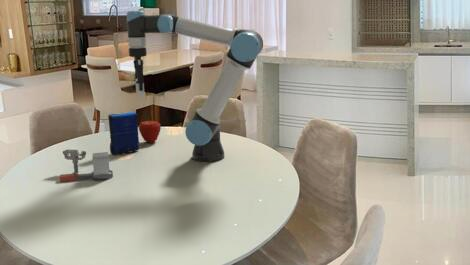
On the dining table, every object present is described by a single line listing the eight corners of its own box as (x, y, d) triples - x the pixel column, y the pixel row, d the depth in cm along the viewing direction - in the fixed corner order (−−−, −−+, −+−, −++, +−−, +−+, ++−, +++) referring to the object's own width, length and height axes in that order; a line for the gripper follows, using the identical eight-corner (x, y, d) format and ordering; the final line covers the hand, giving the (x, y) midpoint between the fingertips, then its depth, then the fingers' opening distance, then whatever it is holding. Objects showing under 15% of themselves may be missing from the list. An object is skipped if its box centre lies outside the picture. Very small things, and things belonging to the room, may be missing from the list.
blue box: (112, 156, 270) (109, 115, 265) (108, 154, 274) (105, 113, 269) (140, 151, 277) (138, 111, 272) (136, 149, 282) (133, 110, 277)
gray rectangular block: (109, 169, 243) (108, 151, 241) (109, 174, 237) (108, 156, 235) (94, 171, 241) (92, 153, 239) (94, 175, 235) (92, 157, 233)
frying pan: (112, 173, 245) (111, 155, 243) (113, 179, 236) (111, 161, 234) (61, 177, 240) (59, 159, 238) (59, 184, 231) (57, 165, 229)
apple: (137, 144, 290) (135, 122, 287) (143, 139, 300) (142, 117, 297) (157, 145, 288) (156, 122, 285) (163, 140, 298) (162, 117, 295)
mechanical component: (85, 174, 244) (83, 151, 242) (63, 173, 246) (61, 151, 244) (88, 171, 247) (86, 150, 244) (67, 170, 249) (65, 149, 246)
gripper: (127, 45, 255) (130, 91, 260) (130, 50, 231) (133, 100, 236) (143, 44, 257) (146, 90, 262) (148, 49, 233) (151, 99, 238)
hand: (140, 95), depth 249 cm, fingers open, 13 cm apart
